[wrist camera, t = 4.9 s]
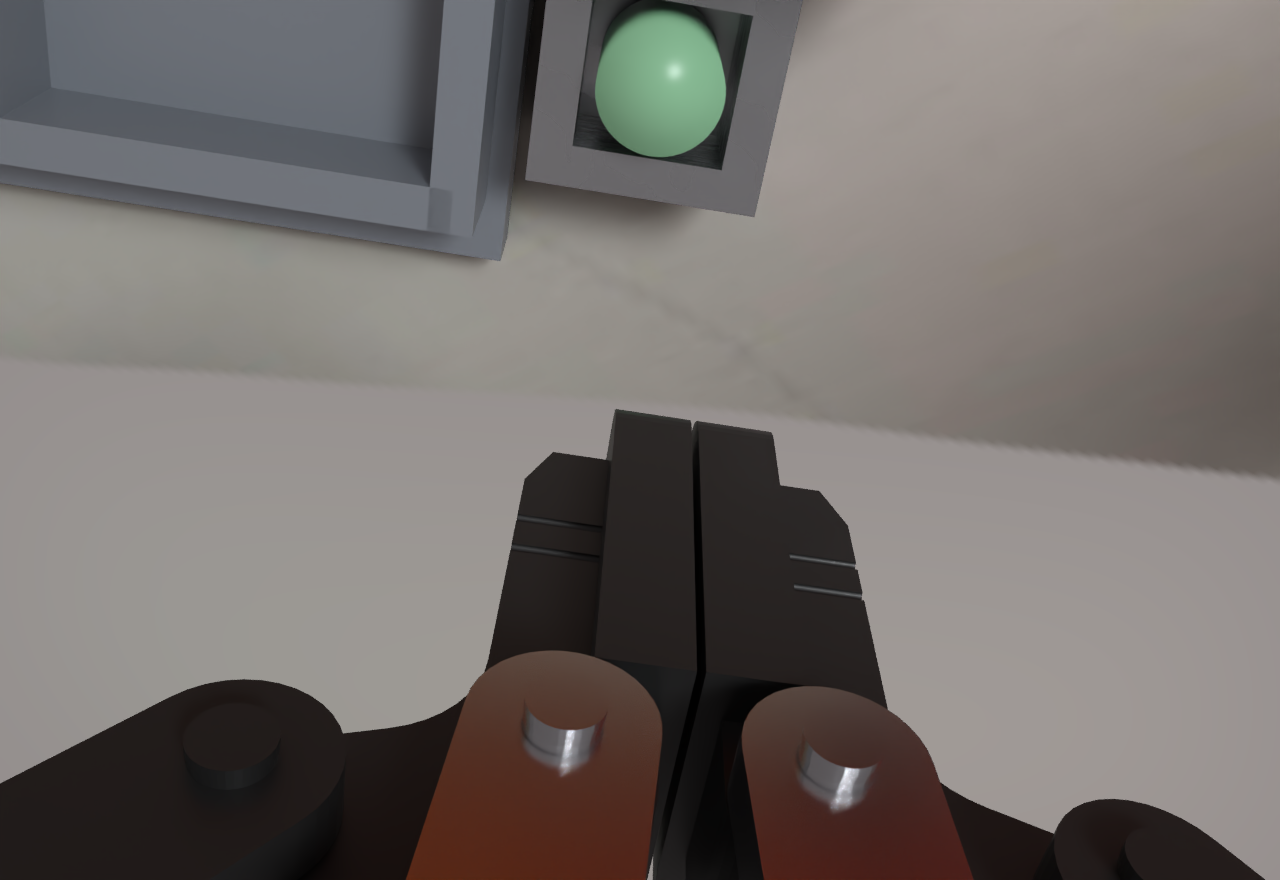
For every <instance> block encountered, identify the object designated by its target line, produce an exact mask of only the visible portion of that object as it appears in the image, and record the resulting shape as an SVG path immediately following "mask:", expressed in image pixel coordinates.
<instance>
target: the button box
mask: <svg viewBox="0 0 1280 880" xmlns="http://www.w3.org/2000/svg"><path fill="white" fill-rule="evenodd" d="M638 1H641V0H546V7H545V15H544V24H543V32H542V41H541V49H540V58H539V66H538V75H537V83H536V91H535V100H534V108H533V117H532V125H531V134H530V142H529V151H528V159H527V168H526V176H525V180H528V181H534V182H541V183H547V184H553V185H559V186H565V187H572V188H578V189H584V190H590V191H596V192H602V193H609V194H615V195H621V196H627V197H633V198H640V199H646V200H652V201H658V202H664V203H671V204H677V205H683V206H689V207H695V208H701V209H708V210H714V211H720V212H726V213H732V214H739V215H745V216H751V217H754V216H755V212H756V207H757V203H758V198H759V194H760V189H761V185H762V181H763V176H764V172H765V167H766V163H767V158H768V154H769V149H770V145H771V140H772V136H773V131H774V127H775V122H776V118H777V113H778V109H779V104H780V100H781V95H782V91H783V86H784V82H785V77H786V73H787V69H788V64H789V60H790V55H791V51H792V46H793V42H794V37H795V33H796V28H797V24H798V19H799V15H800V10H801V6H802V1H803V0H666V1H672V2H677V3H683V4H688V5H690V6H692V7H693V8H695V9H696V10H697V11H699V12H700V13H701V14H702V15H703V16H704V17H705V19H706V20H707V21H708V23H709V24H710V26H711V28H712V29H713V31H714V34H715V36H716V39H717V43H718V47H719V52H720V57H721V62H722V67H723V72H724V77H725V84H726V97H725V104H724V108H723V112H722V114H721V117H720V119H719V121H718V123H717V125H716V126H715V128H714V129H713V131H712V132H711V133H710V134H709V136H708V137H707V138H706V139H705V140H704V141H702V142H701V143H700V144H698V145H697V146H696V147H694V148H692V149H691V150H688V151H686V152H684V153H681V154H678V155H674V156H668V157H652V156H646V155H642V154H639V153H636V152H634V151H632V150H630V149H628V148H626V147H625V146H623V145H622V144H621V143H619V142H618V141H617V140H616V139H615V138H614V137H613V136H612V135H611V134H610V133H609V131H608V130H607V129H606V127H605V125H604V124H603V122H602V120H601V118H600V115H599V112H598V109H597V105H596V99H595V85H596V78H597V72H598V66H599V60H600V54H601V48H602V43H603V40H604V37H605V34H606V32H607V30H608V28H609V26H610V25H611V23H612V22H613V20H614V19H615V18H616V17H617V16H618V15H619V14H620V13H621V12H622V11H623V10H625V9H626V8H627V7H629V6H630V5H632V4H634V3H636V2H638Z"/></svg>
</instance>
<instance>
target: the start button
mask: <svg viewBox="0 0 1280 880" xmlns="http://www.w3.org/2000/svg"><path fill="white" fill-rule="evenodd" d="M725 97H726V84H725V77H724V72H723V67H722V62H721V57H720V52H719V47H718V43H717V39H716V36H715V34H714V31H713V29H712V28H711V26H710V24H709V23H708V21H707V20H706V19H705V17H704V16H703V15H702V14H701V13H700V12H699V11H697V10H696V9H695V8H693V7H692V6H690V5H688V4H683V3H677V2H672V1H666V0H641V1H638V2H636V3H634V4H632V5H630V6H629V7H627V8H626V9H625V10H623V11H622V12H621V13H620V14H619V15H618V16H617V17H616V18H615V19H614V20H613V22H612V23H611V25H610V26H609V28H608V30H607V32H606V34H605V37H604V40H603V43H602V48H601V54H600V60H599V66H598V72H597V78H596V85H595V99H596V105H597V109H598V112H599V115H600V118H601V120H602V122H603V124H604V125H605V127H606V129H607V130H608V131H609V133H610V134H611V135H612V136H613V137H614V138H615V139H616V140H617V141H618V142H619V143H621V144H622V145H623V146H625V147H626V148H628V149H630V150H632V151H634V152H636V153H639V154H642V155H646V156H652V157H668V156H674V155H678V154H681V153H684V152H686V151H688V150H691V149H692V148H694V147H696V146H697V145H698V144H700V143H701V142H702V141H704V140H705V139H706V138H707V137H708V136H709V134H710V133H711V132H712V131H713V129H714V128H715V126H716V125H717V123H718V121H719V119H720V117H721V114H722V112H723V108H724V104H725Z"/></svg>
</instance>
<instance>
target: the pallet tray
mask: <svg viewBox="0 0 1280 880" xmlns="http://www.w3.org/2000/svg"><path fill="white" fill-rule="evenodd" d="M533 4H534V0H0V183H4V184H10V185H17V186H23V187H30V188H36V189H42V190H49V191H55V192H62V193H68V194H74V195H81V196H87V197H94V198H100V199H106V200H113V201H119V202H126V203H132V204H138V205H145V206H151V207H157V208H164V209H170V210H177V211H183V212H189V213H196V214H202V215H209V216H215V217H221V218H228V219H234V220H241V221H247V222H253V223H260V224H266V225H273V226H279V227H285V228H292V229H298V230H305V231H311V232H317V233H324V234H330V235H337V236H343V237H349V238H356V239H362V240H369V241H375V242H381V243H388V244H394V245H401V246H407V247H413V248H420V249H426V250H432V251H439V252H445V253H452V254H458V255H464V256H471V257H477V258H484V259H490V260H496V261H501V257H502V254H503V250H504V247H505V243H506V240H507V233H508V225H509V216H510V207H511V198H512V189H513V180H514V171H515V163H516V154H517V145H518V136H519V127H520V118H521V110H522V101H523V92H524V83H525V74H526V65H527V57H528V48H529V39H530V30H531V21H532V12H533Z"/></svg>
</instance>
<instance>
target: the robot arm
mask: <svg viewBox="0 0 1280 880" xmlns="http://www.w3.org/2000/svg"><path fill="white" fill-rule="evenodd" d="M855 564H856V561H855V556H854V552H853V547H852V543H851V539H850V533H849V529H848V525H847V524H846V523H845V522H844V521H843V519H842V518H841V517H840V516H839V514H838V513H837V512H836V511H835V510H834V508H833V507H832V506H831V505H830V504H829V502H828V501H827V500H826V499H825V497H824V496H823V495H822V494H821V493H820V492H819V491H815V490H808V489H801V488H794V487H787V486H781V485H780V482H779V475H778V467H777V460H776V453H775V446H774V439H773V435H772V433H771V432H766V431H760V430H753V429H746V428H740V427H733V426H726V425H720V424H713V423H706V422H699V421H696V422H695V424H694V427H693V430H692V427H691V421H690V420H685V419H678V418H671V417H665V416H658V415H652V414H645V413H638V412H632V411H625V410H618V409H616V410H615V413H614V418H613V423H612V429H611V434H610V440H609V447H608V452H607V458H606V460H603V459H597V458H590V457H583V456H576V455H570V454H562V453H556V452H553V453H552V454H551V455H550V456H549V457H547V458H546V459H545V460H544V461H543V462H542V463H541V464H540V465H539V466H538V467H537V468H536V469H535V470H534V471H533V472H532V473H531V474H530V475H528V476H527V478H525V481H524V485H523V491H522V495H521V501H520V505H519V510H518V516H517V521H516V525H515V530H514V536H513V540H512V546H511V550H510V555H509V560H508V565H507V570H506V575H505V580H504V585H503V590H502V594H501V599H500V604H499V609H498V614H497V619H496V624H495V629H494V634H493V639H492V644H491V649H490V654H489V659H488V663H487V665H486V669H485V672H484V673H483V674H482V675H481V676H480V677H479V678H478V679H477V680H476V682H475V683H474V684H473V686H472V687H471V688H470V690H469V693H468V695H467V696H466V697H464V698H463V699H462V700H461V701H460V702H459V703H457V704H456V705H454V706H453V707H451V708H449V709H447V710H446V711H444V712H442V713H440V714H438V715H435V716H434V717H431V718H429V719H426V720H423V721H420V722H416V723H413V724H409V725H405V726H399V727H393V728H387V729H378V730H370V731H361V732H352V733H344V734H343V733H342V730H341V727H340V725H339V724H338V722H337V721H336V719H335V718H334V716H333V714H332V713H331V712H330V711H329V710H328V709H327V708H326V707H325V706H324V705H323V704H322V703H320V702H319V701H317V700H316V699H314V698H313V697H311V696H310V695H308V694H306V693H304V692H302V691H300V690H298V689H295V688H292V687H289V686H286V685H282V684H280V683H274V682H268V681H263V680H245V679H243V680H227V681H220V682H214V683H209V684H204V685H201V686H197V687H194V688H191V689H187V690H185V691H183V692H181V693H178V694H176V695H174V696H171V697H169V698H167V699H165V700H163V701H161V702H159V703H157V704H155V705H153V706H152V707H149V708H148V709H146V710H144V711H142V712H140V713H138V714H136V715H134V716H132V717H130V718H128V719H126V720H124V721H122V722H120V723H118V724H116V725H114V726H112V727H110V728H108V729H106V730H105V731H102V732H100V733H99V734H96V735H95V736H93V737H91V738H89V739H87V740H85V741H83V742H81V743H79V744H77V745H75V746H73V747H71V748H69V749H67V750H65V751H63V752H61V753H59V754H57V755H56V756H53V757H51V758H49V759H47V760H45V761H43V762H42V763H40V764H38V765H36V766H34V767H32V768H30V769H28V770H26V771H24V772H22V773H20V774H18V775H16V776H14V777H12V778H10V779H8V780H6V781H4V782H2V783H1V784H0V880H647V878H648V874H649V869H650V865H651V861H652V857H653V880H1265V879H1264V878H1262V877H1261V876H1260V875H1259V874H1257V873H1256V872H1255V871H1253V870H1252V869H1251V868H1250V867H1248V866H1247V865H1246V864H1245V863H1243V862H1242V861H1241V860H1240V859H1238V858H1237V857H1236V856H1234V855H1233V854H1232V853H1231V852H1229V851H1228V850H1227V849H1226V848H1224V847H1223V846H1222V845H1220V844H1219V843H1218V842H1217V841H1215V840H1214V839H1213V838H1211V837H1210V836H1209V835H1207V834H1206V833H1204V832H1203V831H1201V830H1200V829H1198V828H1197V827H1195V826H1193V825H1192V824H1190V823H1188V822H1187V821H1185V820H1183V819H1182V818H1179V817H1177V816H1175V815H1173V814H1171V813H1169V812H1166V811H1164V810H1161V809H1159V808H1156V807H1153V806H1150V805H1147V804H1142V803H1138V802H1134V801H1129V800H1119V799H1104V800H1095V801H1091V802H1086V803H1083V804H1081V805H1079V806H1077V807H1075V808H1073V809H1072V810H1071V811H1070V812H1069V813H1067V814H1066V815H1065V816H1064V818H1063V819H1062V821H1061V822H1060V823H1059V825H1058V827H1057V829H1056V831H1055V833H1054V834H1053V833H1050V832H1048V831H1045V830H1042V829H1040V828H1037V827H1035V826H1032V825H1030V824H1027V823H1025V822H1022V821H1020V820H1017V819H1015V818H1012V817H1009V816H1007V815H1004V814H1002V813H999V812H997V811H994V810H991V809H989V808H986V807H984V806H981V805H980V804H977V803H975V802H973V801H971V800H968V799H966V798H965V797H963V796H961V795H959V794H958V793H956V792H954V791H952V790H950V789H949V788H948V787H946V786H944V785H943V784H942V783H940V781H939V778H938V775H937V772H936V769H935V766H934V763H933V761H932V759H931V756H930V754H929V752H928V750H927V748H926V747H925V745H924V744H923V743H922V741H921V739H920V738H919V737H918V736H917V735H916V733H915V732H914V731H913V730H912V729H911V728H910V727H909V726H908V725H907V724H906V723H905V722H903V721H902V720H901V719H900V718H899V717H898V716H896V715H895V714H893V713H892V712H890V711H889V710H888V709H887V704H886V699H885V695H884V690H883V685H882V681H881V676H880V671H879V667H878V662H877V658H876V653H875V649H874V644H873V639H872V635H871V631H870V625H869V621H868V616H867V612H866V607H865V602H864V601H863V600H861V599H862V597H861V596H862V589H861V584H860V579H859V575H858V570H855Z"/></svg>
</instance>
